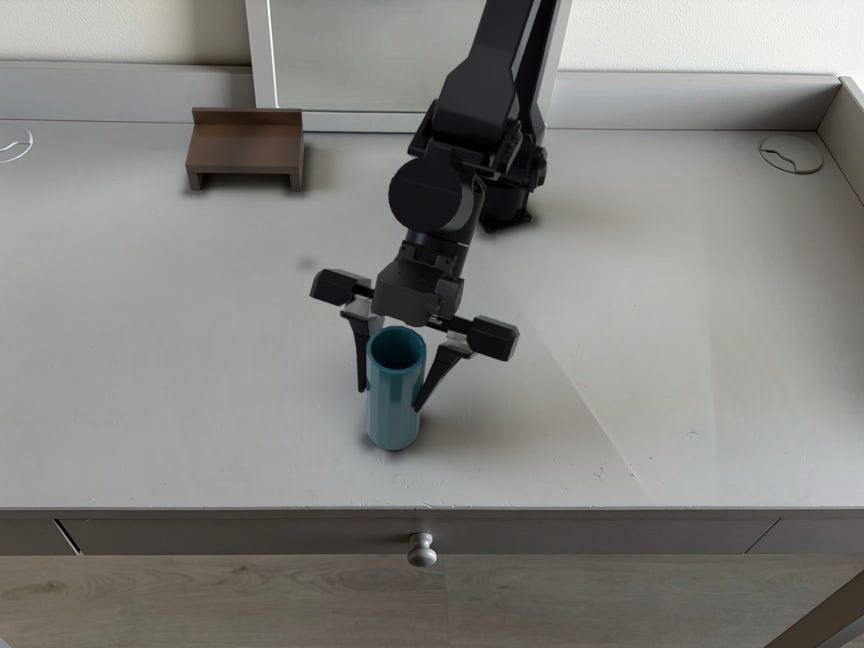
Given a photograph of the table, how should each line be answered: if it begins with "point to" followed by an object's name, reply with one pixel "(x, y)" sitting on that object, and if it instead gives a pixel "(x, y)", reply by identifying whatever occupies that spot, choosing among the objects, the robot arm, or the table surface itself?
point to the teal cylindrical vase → (394, 386)
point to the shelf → (246, 143)
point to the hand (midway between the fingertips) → (388, 401)
